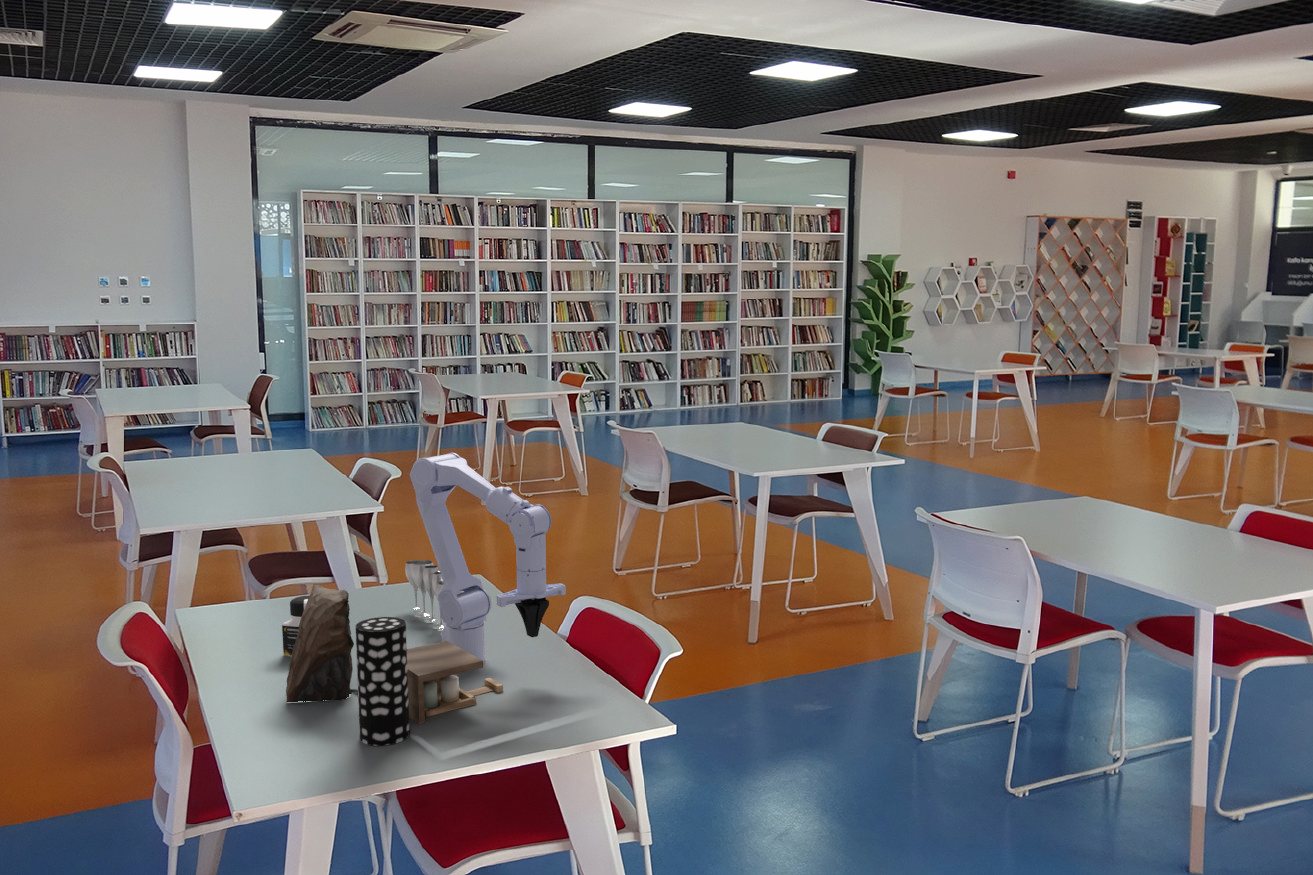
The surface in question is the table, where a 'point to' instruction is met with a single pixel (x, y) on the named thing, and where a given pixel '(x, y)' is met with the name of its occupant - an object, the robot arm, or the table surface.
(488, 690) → the oak tray
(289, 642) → the medicine bottle
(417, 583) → the goblet set
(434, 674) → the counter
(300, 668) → the brown rock
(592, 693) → the table surface
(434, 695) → the grey-green round cylinder
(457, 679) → the off-white round cylinder
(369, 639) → the white-spotted black cylinder
